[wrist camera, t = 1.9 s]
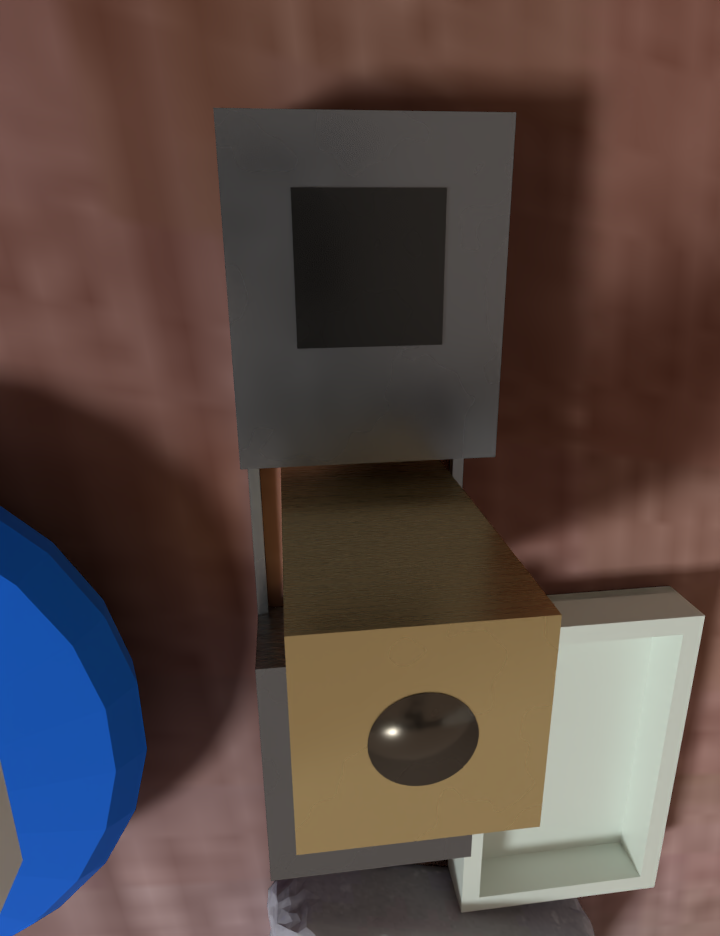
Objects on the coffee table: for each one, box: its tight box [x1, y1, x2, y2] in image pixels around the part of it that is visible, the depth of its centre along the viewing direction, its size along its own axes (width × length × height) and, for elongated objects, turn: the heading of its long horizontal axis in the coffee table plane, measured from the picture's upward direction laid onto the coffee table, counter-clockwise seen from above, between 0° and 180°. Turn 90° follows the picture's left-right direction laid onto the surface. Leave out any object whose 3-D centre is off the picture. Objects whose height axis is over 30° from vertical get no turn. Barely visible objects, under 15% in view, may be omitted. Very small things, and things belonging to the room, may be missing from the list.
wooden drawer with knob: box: [281, 460, 562, 855], centre depth 14 cm, size 4×4×9 cm
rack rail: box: [214, 108, 516, 881], centre depth 17 cm, size 20×6×3 cm, turn 1°
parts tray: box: [448, 586, 705, 913], centre depth 21 cm, size 11×7×2 cm, turn 1°
